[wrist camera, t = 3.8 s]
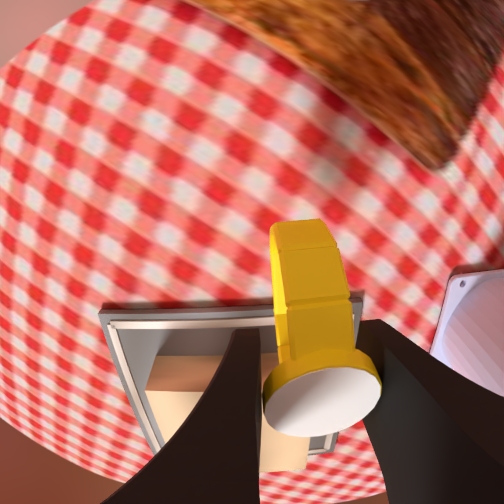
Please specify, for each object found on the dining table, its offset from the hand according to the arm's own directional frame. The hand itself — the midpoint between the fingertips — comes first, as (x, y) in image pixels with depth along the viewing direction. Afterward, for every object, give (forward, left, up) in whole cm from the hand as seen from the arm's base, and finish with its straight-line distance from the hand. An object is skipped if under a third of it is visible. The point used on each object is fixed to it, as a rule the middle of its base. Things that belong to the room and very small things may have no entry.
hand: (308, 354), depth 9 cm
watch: (0, -1, -4) cm, 4 cm away
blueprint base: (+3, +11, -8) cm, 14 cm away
